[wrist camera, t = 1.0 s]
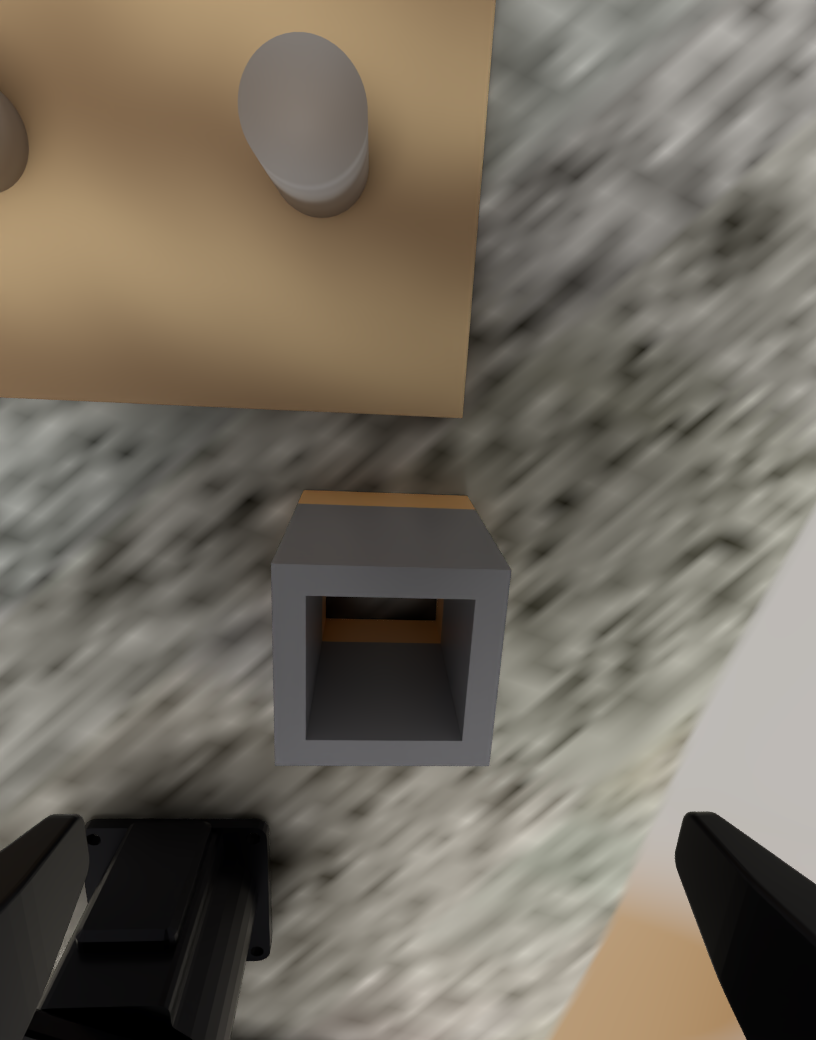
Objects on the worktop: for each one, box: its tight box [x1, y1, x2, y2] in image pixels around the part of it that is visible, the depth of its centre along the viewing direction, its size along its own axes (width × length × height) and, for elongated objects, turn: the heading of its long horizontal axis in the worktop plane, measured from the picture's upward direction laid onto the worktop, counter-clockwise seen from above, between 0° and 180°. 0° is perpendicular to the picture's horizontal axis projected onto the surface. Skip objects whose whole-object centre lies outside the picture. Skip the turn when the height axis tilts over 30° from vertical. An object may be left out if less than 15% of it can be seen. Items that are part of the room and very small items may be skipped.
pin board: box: [0, 0, 496, 418], centre depth 13 cm, size 12×16×4 cm
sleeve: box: [271, 490, 511, 766], centre depth 16 cm, size 5×5×6 cm
